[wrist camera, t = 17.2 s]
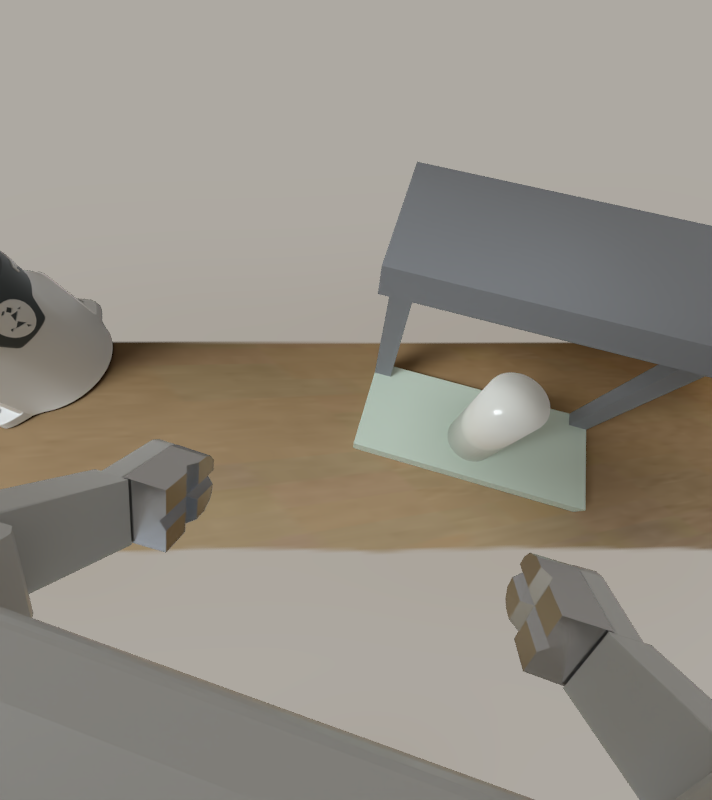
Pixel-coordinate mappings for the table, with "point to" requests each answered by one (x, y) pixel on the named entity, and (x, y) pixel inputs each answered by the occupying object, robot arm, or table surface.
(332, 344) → the table surface
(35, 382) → the robot arm
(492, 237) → the grey frame
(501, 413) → the white cylinder
